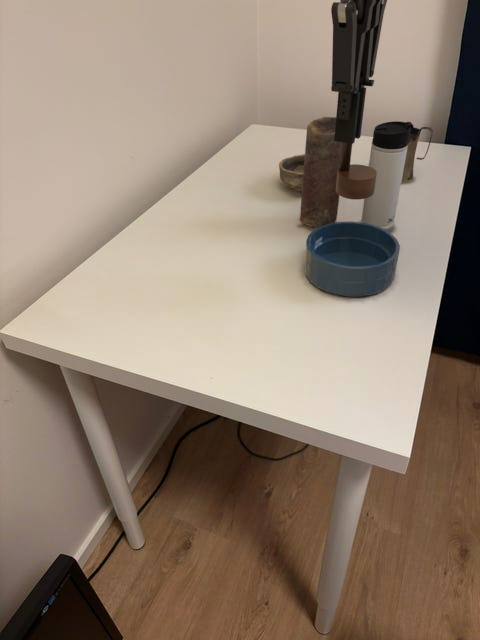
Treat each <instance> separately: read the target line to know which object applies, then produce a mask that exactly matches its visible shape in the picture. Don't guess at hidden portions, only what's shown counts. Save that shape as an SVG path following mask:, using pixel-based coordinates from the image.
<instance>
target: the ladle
mask: <svg viewBox="0 0 480 640" xmlns="http://www.w3.org/2000/svg"><path fill="white" fill-rule="evenodd" d="M360 71H361V69H360ZM359 80H360V76H359ZM358 89H359V84H358ZM357 92H358V91H357ZM352 152H353V144H350V143H343V142H341V148H340V158H339V169H338V171H337V181H336V193H337V194H338V195H339V197H341V198H344V199H347V200H364V199H365V198H369V197H371V196H372V195H373V194H374V189H375V183H376V176H377V172H376V170H375V169H374V168H372V167H369V165H364V164H358V163H357V164H356V163H354V164H351V161H352Z"/></svg>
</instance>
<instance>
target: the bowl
mask: <svg viewBox="0 0 480 640" xmlns="http://www.w3.org/2000/svg"><path fill="white" fill-rule="evenodd" d="M304 162H305V153H303V154H298V155H293V156H289V157H286V158H283V159H281V160H280V161H279V162H278V168H279V179H280V182H281V183H282V184H283V185H285V186H287V187H288V188H291V189H292V190H296V191H300V192H302V188H303V174H304Z"/></svg>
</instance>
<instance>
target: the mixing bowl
mask: <svg viewBox="0 0 480 640" xmlns="http://www.w3.org/2000/svg"><path fill="white" fill-rule="evenodd" d="M400 248H401V245H400V243H399V241H398V238H397V237H396V236H395V235H393V234H392V233H391V231H390V232H388V231H386V230H385V229H383V228H380V227H378V226H375V225H371V224H367V223H362V222H361V221H353V220H350V221H349V220H348V221H346V220H345V221H336V222H335V223H329V224H326V225H323V226H320V227H318V228H314V229H313V230H312V231H311V232H310V233H309V234H308V235H307V238H306V241H305V255H304V273H305V275H306V277H307V278H308V280H309V282H311V283H312V284H313V285H314V286H315V287H317V288H319V289H321V290H323V291H324V292H328V293H330V294H333V295H335V296H342V297H349V298H350V297H353V298H354V297H356V298H357V297H366V296H369V295H370V296H371V295H375V294H377V293H381V292H382V291H384V290H385V289H387V288H388V287H390V286H391V284H392V283H393V282H394V280H395V275H396V270H397V265H398V261H399V255H400Z"/></svg>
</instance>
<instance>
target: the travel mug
mask: <svg viewBox="0 0 480 640" xmlns="http://www.w3.org/2000/svg"><path fill="white" fill-rule="evenodd" d="M413 127H414V124H413V123H412V122H411V121H406V122H405V121H397V120H394V121H387V122H383V123H379V124H377V125H376V126H375V127H374V130H373V133H372V141H371V147H370V153H369V161H368V166H369V167H372V168H374V169H375V170H376V172H377V176H376V183H375V189H374V194H373V195H372V196H371V197H369V198H365V199H363V205H362V212H361V220H360V222H362V223H367V224H371V225H375V226H378V227H380V228H383V229H385V230H386V231H388V232H390V233H391V231H392V230H393V229H394V224H395V218H396V213H397V207H398V201H399V197H400V192H401V188H402V187H401V186H402V183H401V181H402V176H403V170H404V165H405V159H406V154H407V148H408V139H409V135H410V130H411V128H412V129H413Z"/></svg>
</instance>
